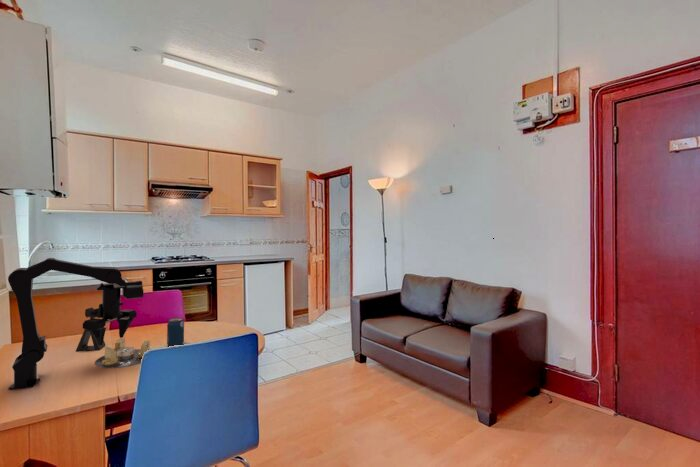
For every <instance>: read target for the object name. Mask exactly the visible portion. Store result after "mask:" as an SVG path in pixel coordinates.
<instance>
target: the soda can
mask: <svg viewBox="0 0 700 467" xmlns="http://www.w3.org/2000/svg"><path fill="white" fill-rule="evenodd" d="M166 327H167V328H166V345H167V346H168V347H169V346H174V345H183V344H184V343H185V322H184V318H182V317H173V318H169V320H168V322H167V325H166Z"/></svg>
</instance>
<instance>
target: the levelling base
mask: <svg viewBox="0 0 700 467" xmlns="http://www.w3.org/2000/svg"><path fill="white" fill-rule="evenodd" d="M125 339H126V338H125V337H122V338H120V337H119V338H118V340H116V341H115V343H114V348H112V349H113V350H115V351H116V357H118V364H117V365H115V366H111V367H103V366H102V360H103V359H105V355H103V356H100V357H99V358H97V359H96V360H95V361H94V365H95V366H96V367H98V368H102V369H123V368H128V367H132V366H136V365H140V364H142V363H141V359H142V356H143V354H144V352H146V351H147V350H151V349H150V346H151V345H150V340H144V341H143V343H142V344H141V345H140V349H139V348H137V349H136V348H135V347H133V346H125V345H126V343H125V342H126V340H125Z"/></svg>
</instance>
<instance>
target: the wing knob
mask: <svg viewBox="0 0 700 467" xmlns="http://www.w3.org/2000/svg"><path fill="white" fill-rule="evenodd" d="M113 349H114V348H112V347H110V346H109V345H107V346H106V347H105V348H104V356H105V359H103V360H102V366H103V367H111V366H115V365H117V364H118V357H116V351H115V350H113Z"/></svg>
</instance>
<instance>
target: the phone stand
mask: <svg viewBox="0 0 700 467" xmlns="http://www.w3.org/2000/svg"><path fill="white" fill-rule="evenodd" d="M90 339H91V341H92V344H93V345H88V344H89V342H90ZM104 340H105V339H104ZM104 340H103V343H102V345H98V343H97V340H96V338H95V336H94V334H93V333H92V332H91V331H90V330H86V329H83V333H82V335H81V338H80V340H79V342H78V344H77V346H76V349H75V352H93V351H98V352H99V351H100V350H102V349H103V348H104V347H105V346H106V341H104Z"/></svg>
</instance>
